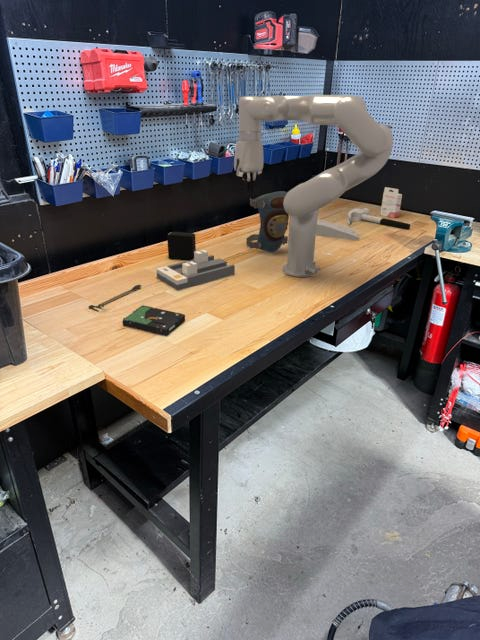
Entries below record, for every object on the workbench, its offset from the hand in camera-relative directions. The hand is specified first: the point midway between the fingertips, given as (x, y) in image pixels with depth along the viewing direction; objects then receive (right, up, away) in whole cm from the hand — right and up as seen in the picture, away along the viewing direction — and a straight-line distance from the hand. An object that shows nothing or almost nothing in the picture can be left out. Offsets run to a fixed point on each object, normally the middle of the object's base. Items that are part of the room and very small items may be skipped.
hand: (249, 191), depth 162 cm
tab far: (-17, -25, +5) cm, 31 cm away
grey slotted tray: (-19, -30, 0) cm, 36 cm away
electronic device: (-26, -22, +17) cm, 38 cm away
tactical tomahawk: (-41, -40, -17) cm, 60 cm away
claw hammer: (+65, +1, +64) cm, 91 cm away
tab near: (-20, -31, -6) cm, 38 cm away
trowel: (+40, -6, +49) cm, 64 cm away
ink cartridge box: (+76, +9, +79) cm, 110 cm away
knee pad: (+8, -16, +29) cm, 34 cm away
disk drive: (-28, -47, -32) cm, 63 cm away
